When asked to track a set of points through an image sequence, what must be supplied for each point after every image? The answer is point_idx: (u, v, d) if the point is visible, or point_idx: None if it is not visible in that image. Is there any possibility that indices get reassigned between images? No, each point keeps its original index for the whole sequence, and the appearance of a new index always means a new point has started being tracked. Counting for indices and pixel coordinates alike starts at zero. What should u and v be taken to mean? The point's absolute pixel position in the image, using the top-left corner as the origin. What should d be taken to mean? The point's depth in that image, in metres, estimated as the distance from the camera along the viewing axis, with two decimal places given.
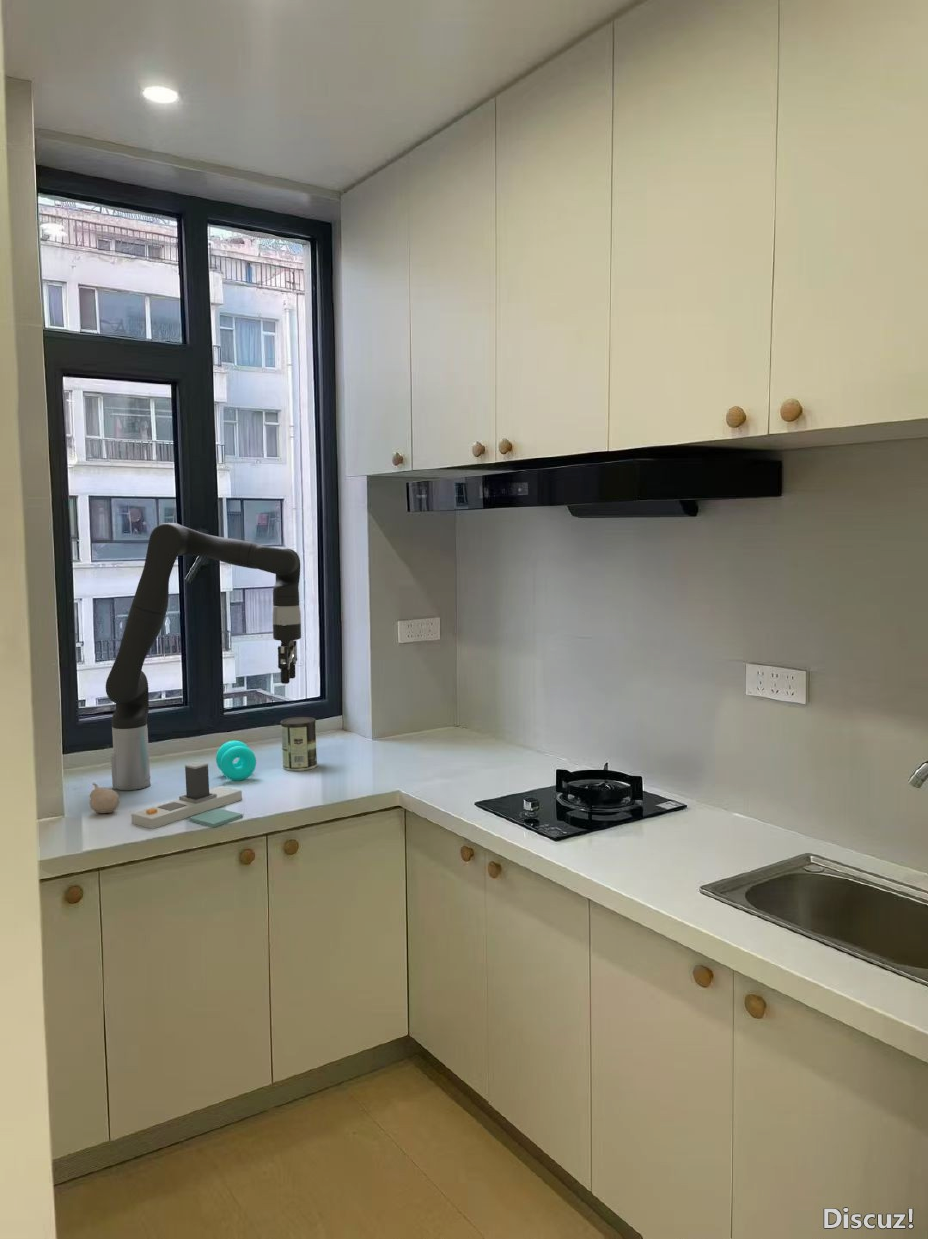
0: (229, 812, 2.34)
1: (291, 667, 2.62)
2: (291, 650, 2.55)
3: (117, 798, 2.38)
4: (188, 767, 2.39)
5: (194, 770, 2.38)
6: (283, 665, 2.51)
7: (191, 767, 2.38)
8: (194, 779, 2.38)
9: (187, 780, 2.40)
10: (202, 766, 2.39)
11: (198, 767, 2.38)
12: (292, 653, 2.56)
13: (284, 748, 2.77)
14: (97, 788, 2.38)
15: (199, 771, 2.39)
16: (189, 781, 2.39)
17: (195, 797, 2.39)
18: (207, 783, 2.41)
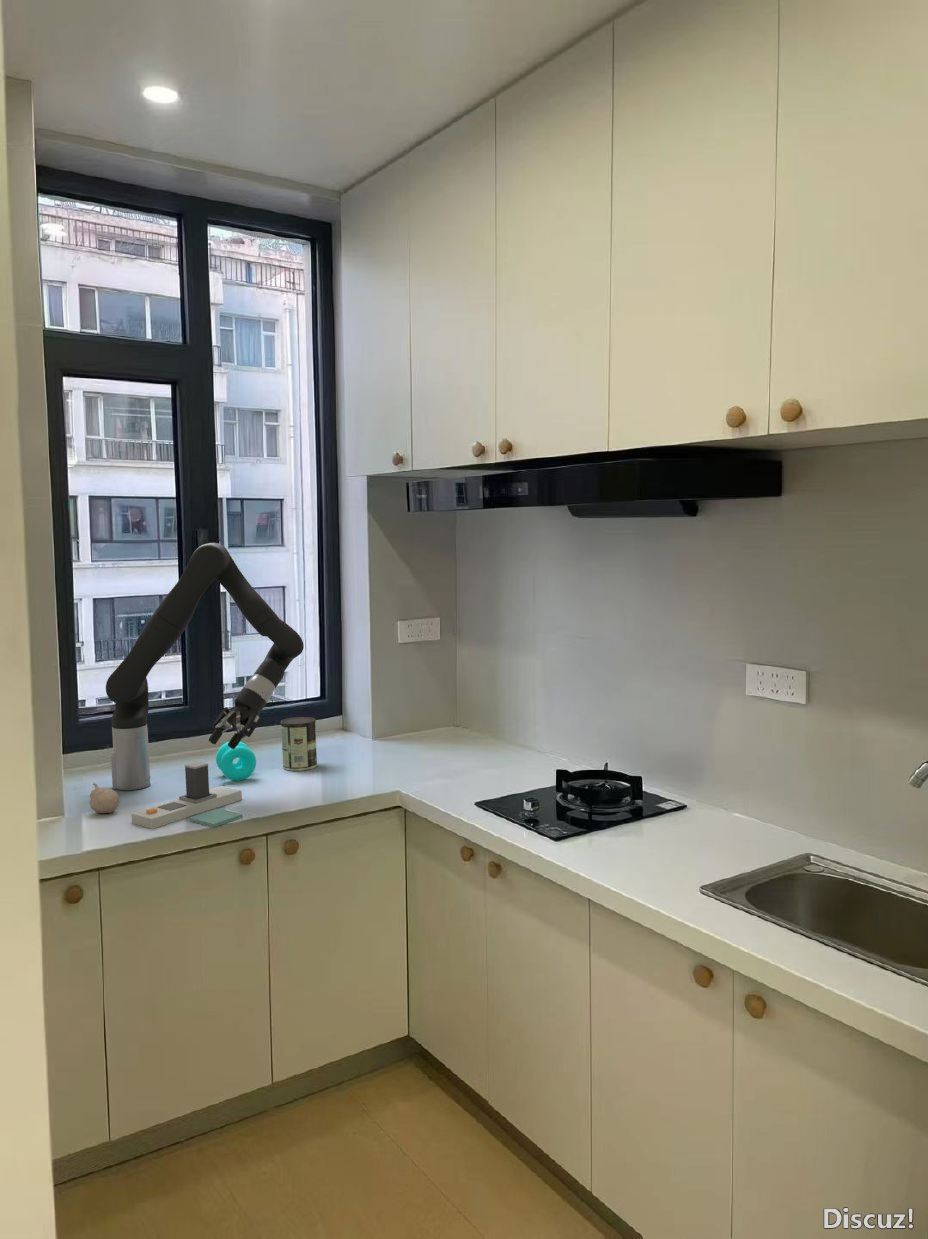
0: (229, 812, 2.34)
1: (219, 733, 2.50)
2: None
3: (117, 798, 2.38)
4: (188, 767, 2.39)
5: (194, 770, 2.38)
6: (248, 732, 2.44)
7: (191, 767, 2.38)
8: (194, 779, 2.38)
9: (187, 780, 2.40)
10: (202, 766, 2.39)
11: (198, 767, 2.38)
12: None
13: (284, 748, 2.77)
14: (97, 788, 2.38)
15: (199, 771, 2.39)
16: (189, 781, 2.39)
17: (195, 797, 2.39)
18: (207, 783, 2.41)
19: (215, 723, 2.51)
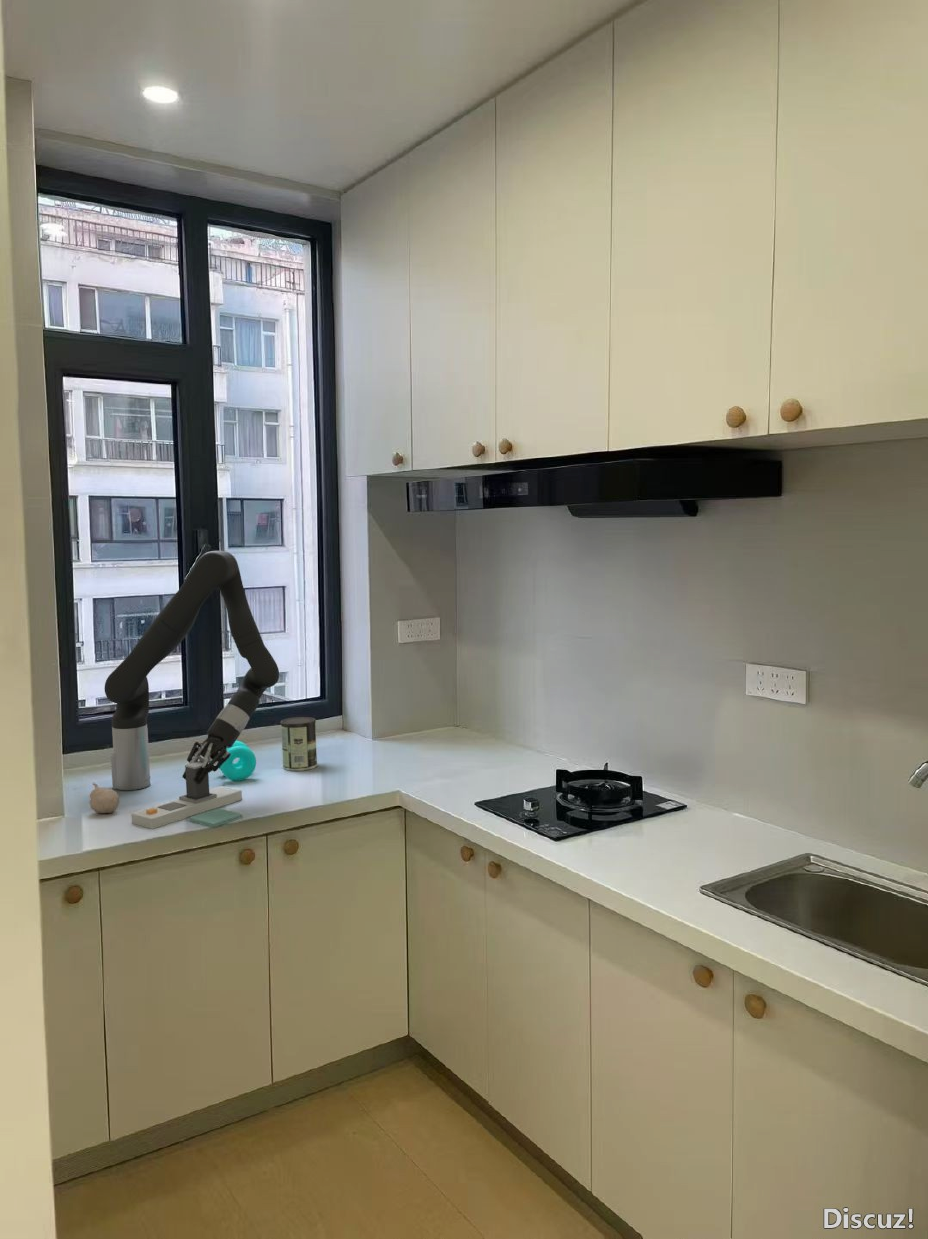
0: (229, 812, 2.34)
1: None
2: None
3: (117, 798, 2.38)
4: (188, 767, 2.39)
5: (194, 770, 2.38)
6: (214, 766, 2.38)
7: (191, 767, 2.38)
8: None
9: (187, 780, 2.40)
10: None
11: (198, 767, 2.38)
12: None
13: (284, 748, 2.77)
14: (97, 788, 2.38)
15: None
16: (189, 781, 2.40)
17: (195, 797, 2.39)
18: (207, 783, 2.41)
19: (189, 759, 2.44)
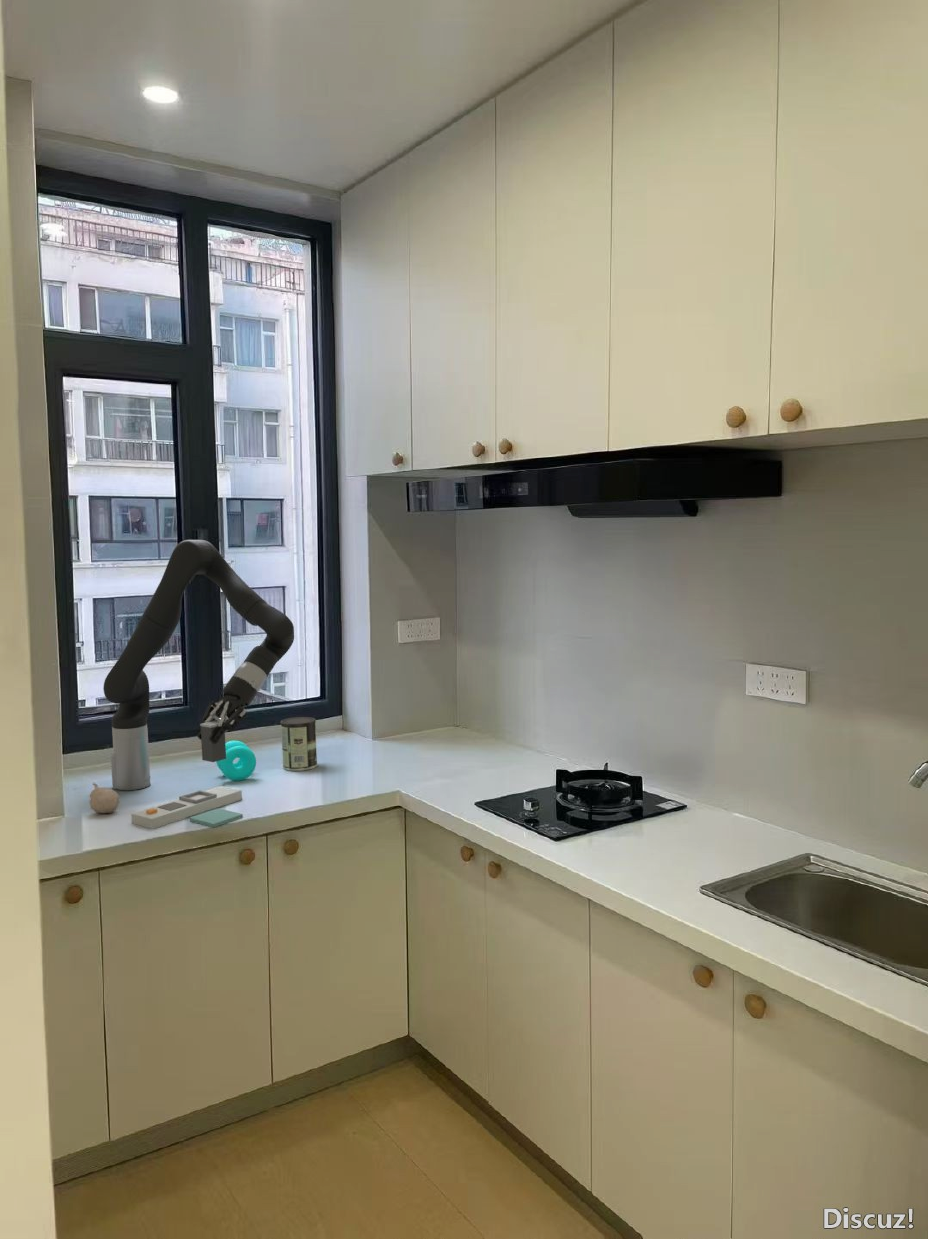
0: (229, 812, 2.34)
1: None
2: None
3: (117, 798, 2.38)
4: (204, 726, 2.28)
5: (210, 729, 2.27)
6: (231, 725, 2.28)
7: (207, 726, 2.28)
8: None
9: (203, 740, 2.29)
10: None
11: (214, 726, 2.28)
12: None
13: (284, 748, 2.77)
14: (97, 788, 2.38)
15: None
16: (205, 741, 2.29)
17: (211, 757, 2.28)
18: (223, 743, 2.30)
19: (204, 718, 2.33)
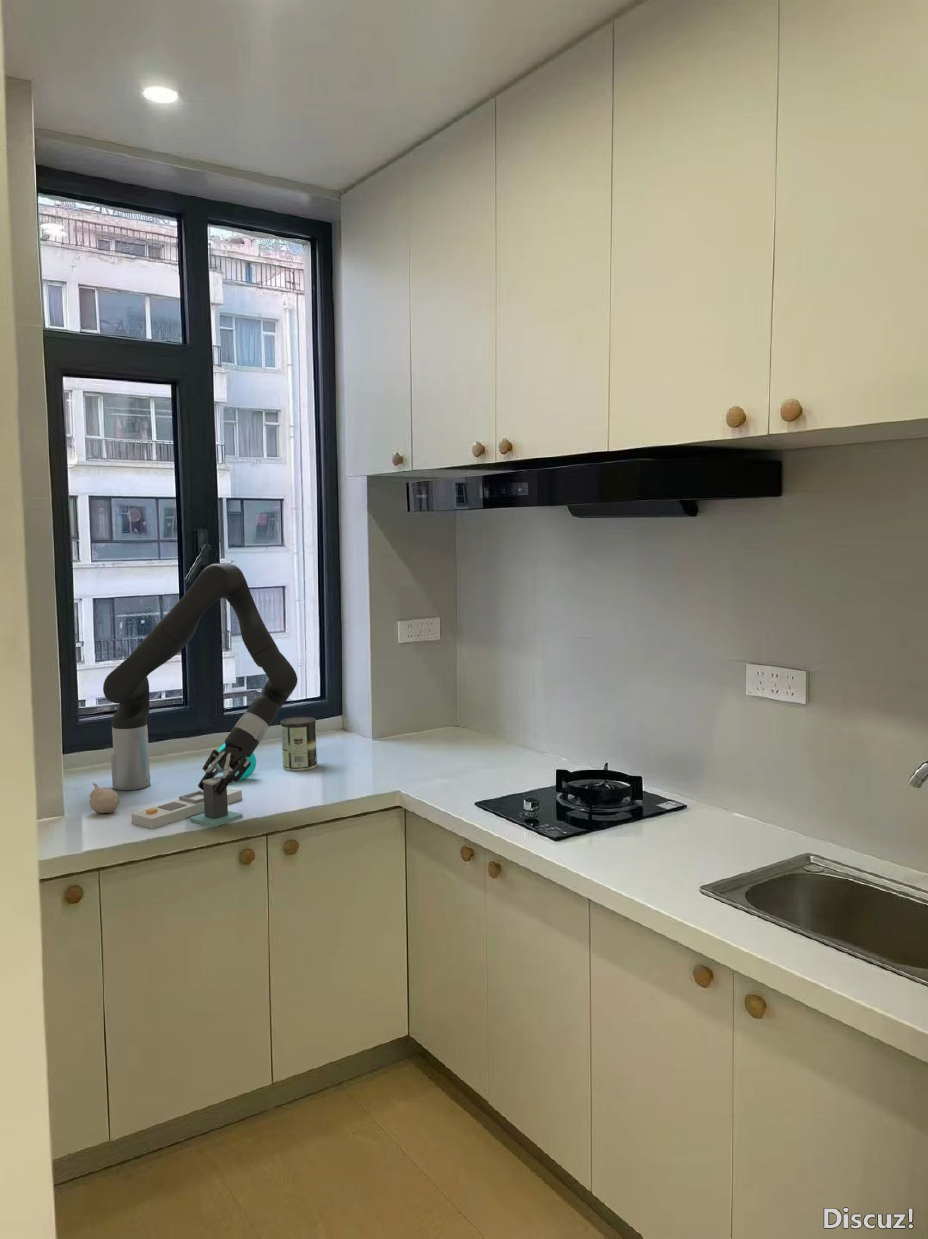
0: (229, 812, 2.34)
1: (209, 778, 2.33)
2: None
3: (117, 798, 2.38)
4: (206, 783, 2.30)
5: (211, 786, 2.29)
6: (235, 777, 2.28)
7: (209, 783, 2.29)
8: (212, 795, 2.29)
9: (205, 796, 2.31)
10: None
11: (216, 783, 2.29)
12: None
13: (284, 748, 2.77)
14: (97, 788, 2.38)
15: None
16: (207, 798, 2.30)
17: (212, 814, 2.29)
18: (225, 800, 2.31)
19: (205, 767, 2.35)
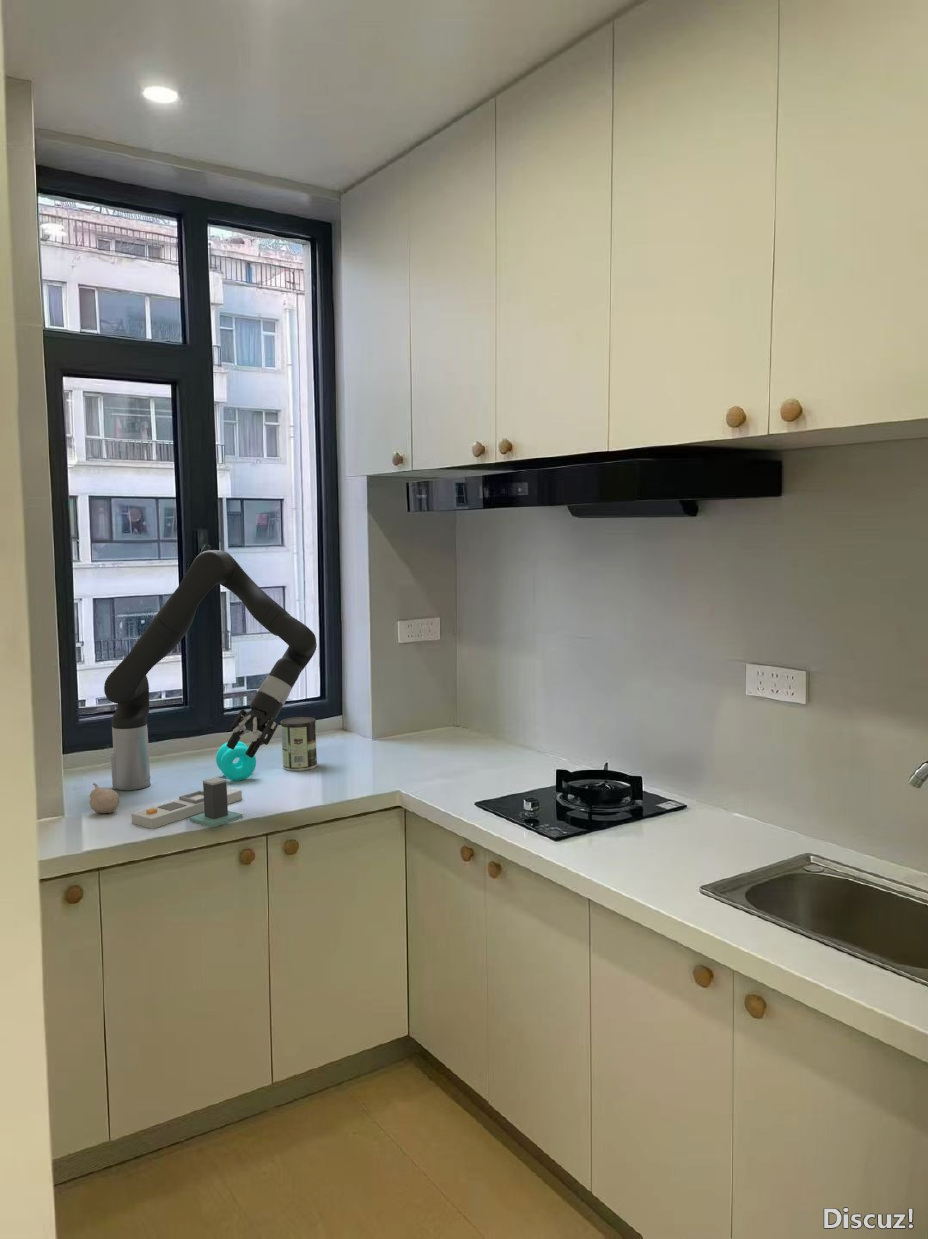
0: (229, 812, 2.34)
1: (237, 738, 2.43)
2: None
3: (117, 798, 2.38)
4: (206, 783, 2.30)
5: (211, 786, 2.29)
6: (266, 740, 2.37)
7: (209, 783, 2.29)
8: (212, 795, 2.29)
9: (205, 796, 2.31)
10: (220, 782, 2.30)
11: (216, 783, 2.29)
12: None
13: (284, 748, 2.77)
14: (97, 788, 2.38)
15: (217, 787, 2.29)
16: (207, 798, 2.30)
17: (212, 814, 2.29)
18: (225, 800, 2.31)
19: (232, 727, 2.45)
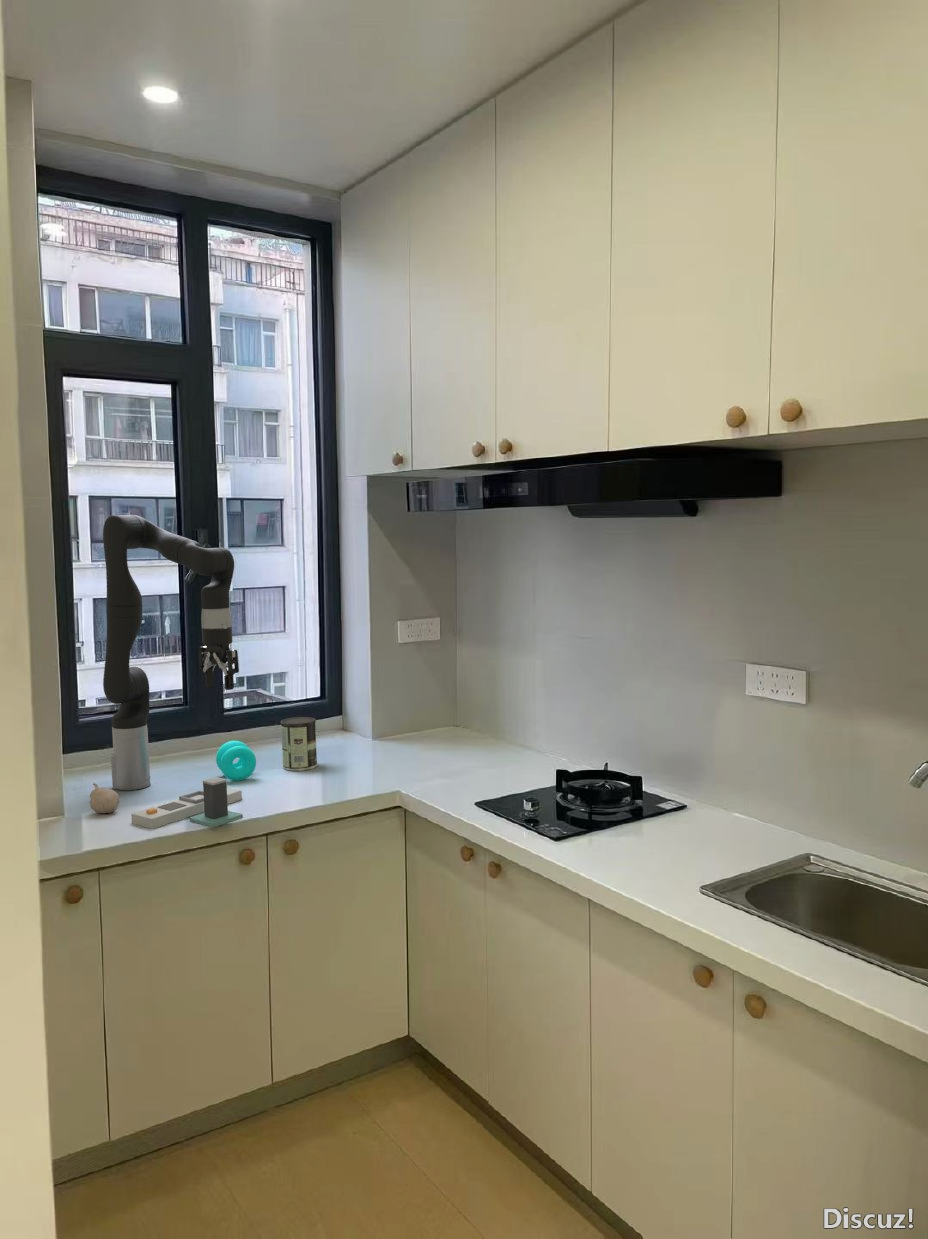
0: (229, 812, 2.34)
1: (210, 674, 2.46)
2: None
3: (117, 798, 2.38)
4: (206, 783, 2.30)
5: (211, 786, 2.29)
6: (235, 670, 2.39)
7: (209, 783, 2.29)
8: (212, 795, 2.29)
9: (205, 796, 2.31)
10: (220, 782, 2.30)
11: (216, 783, 2.29)
12: None
13: (284, 748, 2.77)
14: (97, 788, 2.38)
15: (217, 787, 2.29)
16: (207, 798, 2.30)
17: (212, 814, 2.29)
18: (225, 800, 2.31)
19: (201, 666, 2.46)
